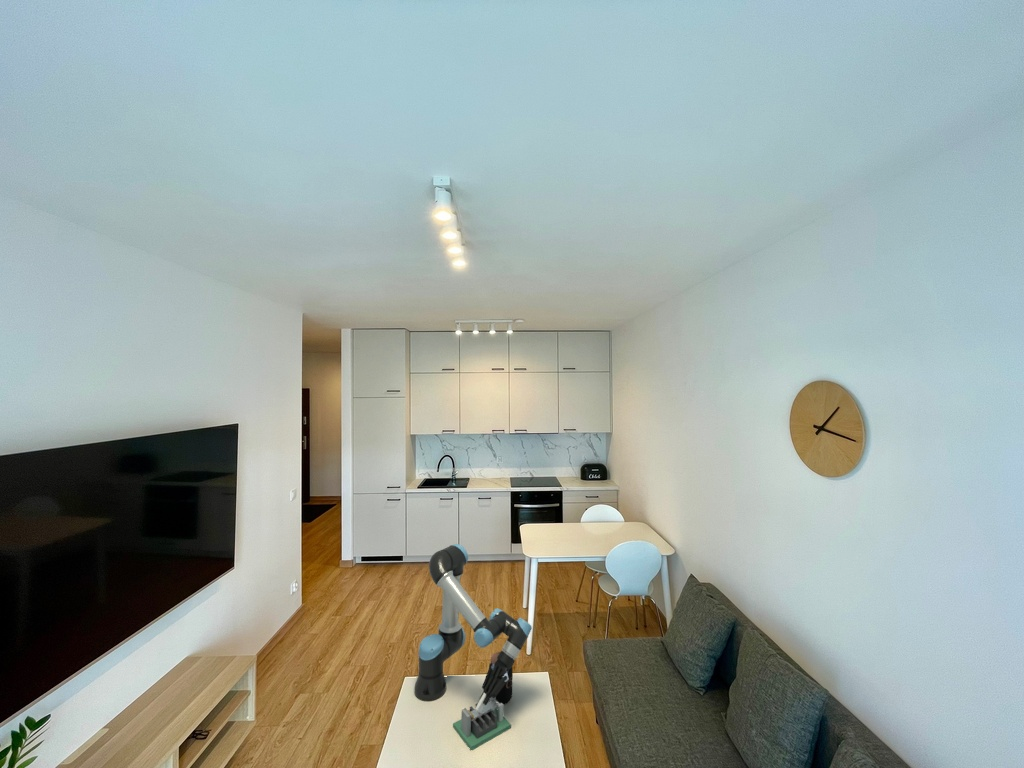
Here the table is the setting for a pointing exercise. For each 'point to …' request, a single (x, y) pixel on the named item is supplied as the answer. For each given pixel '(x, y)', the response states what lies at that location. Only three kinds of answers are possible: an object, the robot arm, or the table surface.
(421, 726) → the table surface
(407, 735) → the table surface
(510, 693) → the coffee jar
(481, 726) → the cpu board
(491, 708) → the silver flat bar
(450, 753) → the table surface
